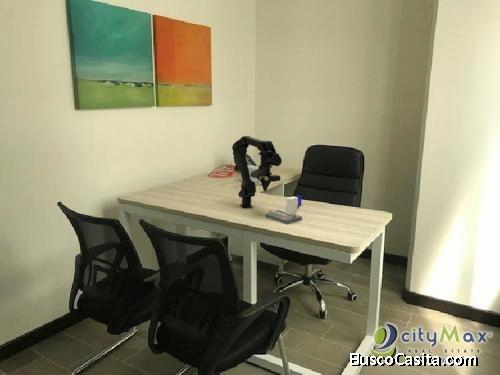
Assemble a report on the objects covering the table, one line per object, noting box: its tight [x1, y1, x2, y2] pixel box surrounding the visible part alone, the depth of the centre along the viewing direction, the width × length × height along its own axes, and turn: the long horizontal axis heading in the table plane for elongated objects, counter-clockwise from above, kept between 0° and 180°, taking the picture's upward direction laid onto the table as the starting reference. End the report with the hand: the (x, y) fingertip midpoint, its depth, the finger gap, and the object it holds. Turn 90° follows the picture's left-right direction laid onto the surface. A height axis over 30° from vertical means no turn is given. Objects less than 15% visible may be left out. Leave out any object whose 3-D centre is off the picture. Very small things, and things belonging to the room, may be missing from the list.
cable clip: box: [295, 194, 303, 210], centre depth 243 cm, size 12×4×6 cm, turn 148°
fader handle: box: [285, 196, 298, 218], centre depth 214 cm, size 3×6×11 cm, turn 132°
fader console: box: [265, 208, 303, 225], centre depth 219 cm, size 16×12×3 cm
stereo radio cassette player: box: [240, 160, 262, 186], centre depth 305 cm, size 21×8×20 cm, turn 46°
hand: (264, 191), depth 226 cm, fingers closed
